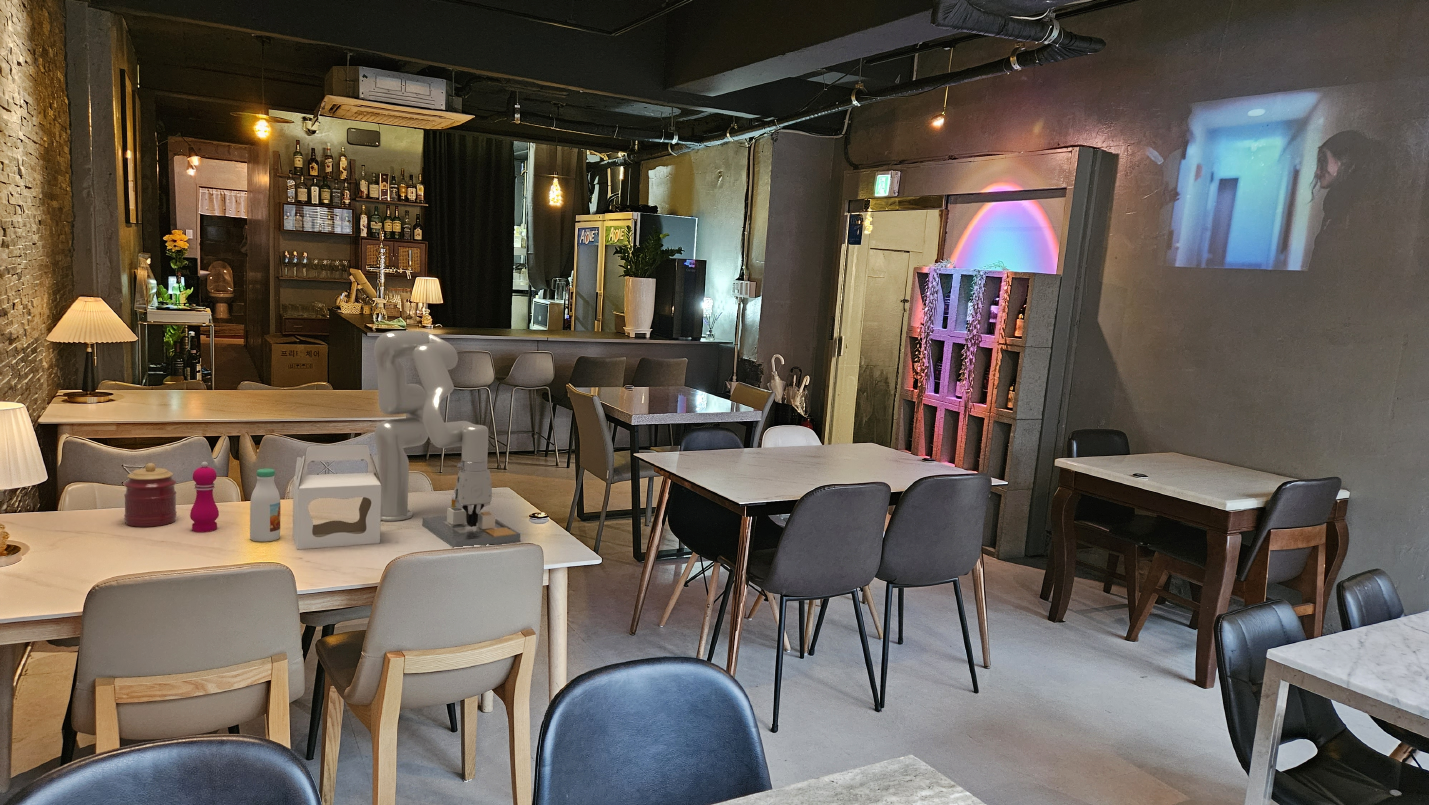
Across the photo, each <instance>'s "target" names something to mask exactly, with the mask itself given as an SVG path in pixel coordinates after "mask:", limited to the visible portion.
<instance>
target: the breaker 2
mask: <svg viewBox="0 0 1429 805" xmlns="http://www.w3.org/2000/svg"><path fill="white" fill-rule="evenodd" d="M495 519H496V514H494V513H492V512H491V511H490V510H489V511H487V510H486V511H480V513H478V523H477V526H478V527H480V528H481V529H489V528H495Z"/></svg>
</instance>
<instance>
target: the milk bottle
mask: <svg viewBox="0 0 1429 805" xmlns="http://www.w3.org/2000/svg"><path fill="white" fill-rule="evenodd" d="M275 472H276V470H275V469H273V468H260V469H257V470H256V478H257V481H256V484H255V487H254V489H253V491H252V493H251V495H250V505H249V506H250V507H249V508H250V509H249V539H250V540H251V541H252V542H259V543H262V542H263V543H264V542H273V541H276V540H279V538H280V537H281V496H280V491H279V489H278V488H277V486H276V483H275V478H276V476H275V475H276V473H275Z"/></svg>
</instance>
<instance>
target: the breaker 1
mask: <svg viewBox="0 0 1429 805" xmlns="http://www.w3.org/2000/svg"><path fill="white" fill-rule="evenodd" d="M446 512H447V513H446V515H447V521H448V522H450V523H451V524H453V525H455V524H465V523H466V511H465V510H464V509H460V508H456V507H455V508H451V507H447V508H446Z"/></svg>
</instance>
